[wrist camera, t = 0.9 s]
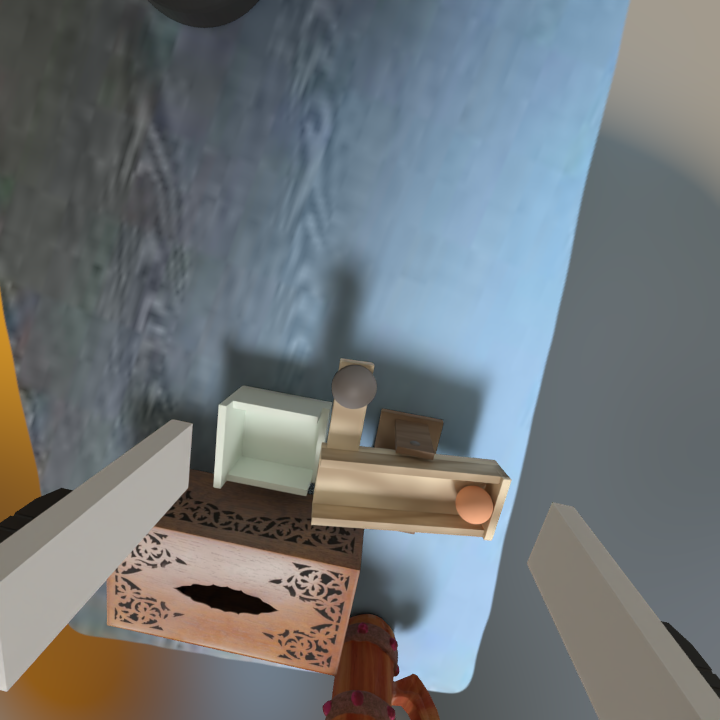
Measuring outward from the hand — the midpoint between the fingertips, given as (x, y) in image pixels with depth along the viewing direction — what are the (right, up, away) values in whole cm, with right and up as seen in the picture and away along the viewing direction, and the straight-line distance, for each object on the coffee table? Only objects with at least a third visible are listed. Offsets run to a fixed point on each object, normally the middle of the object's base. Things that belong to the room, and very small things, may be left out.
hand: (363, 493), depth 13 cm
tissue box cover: (-13, -17, +34) cm, 40 cm away
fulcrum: (+5, -6, +29) cm, 30 cm away
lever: (+5, -4, +22) cm, 23 cm away
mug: (+3, -33, +36) cm, 49 cm away
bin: (-9, -4, +29) cm, 31 cm away
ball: (+11, -9, +22) cm, 26 cm away
